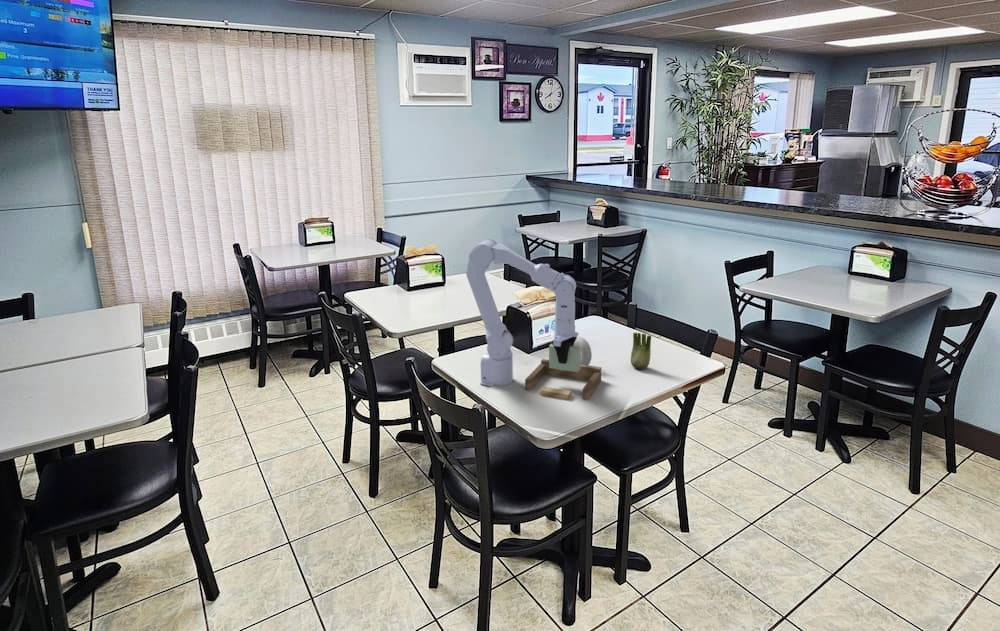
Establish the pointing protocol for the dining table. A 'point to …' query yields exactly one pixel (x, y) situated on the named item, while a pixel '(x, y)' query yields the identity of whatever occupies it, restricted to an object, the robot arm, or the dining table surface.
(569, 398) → the offcut lower
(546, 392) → the offcut upper
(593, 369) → the frame
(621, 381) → the dining table surface
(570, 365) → the board
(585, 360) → the donut
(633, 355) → the fennel bulb
